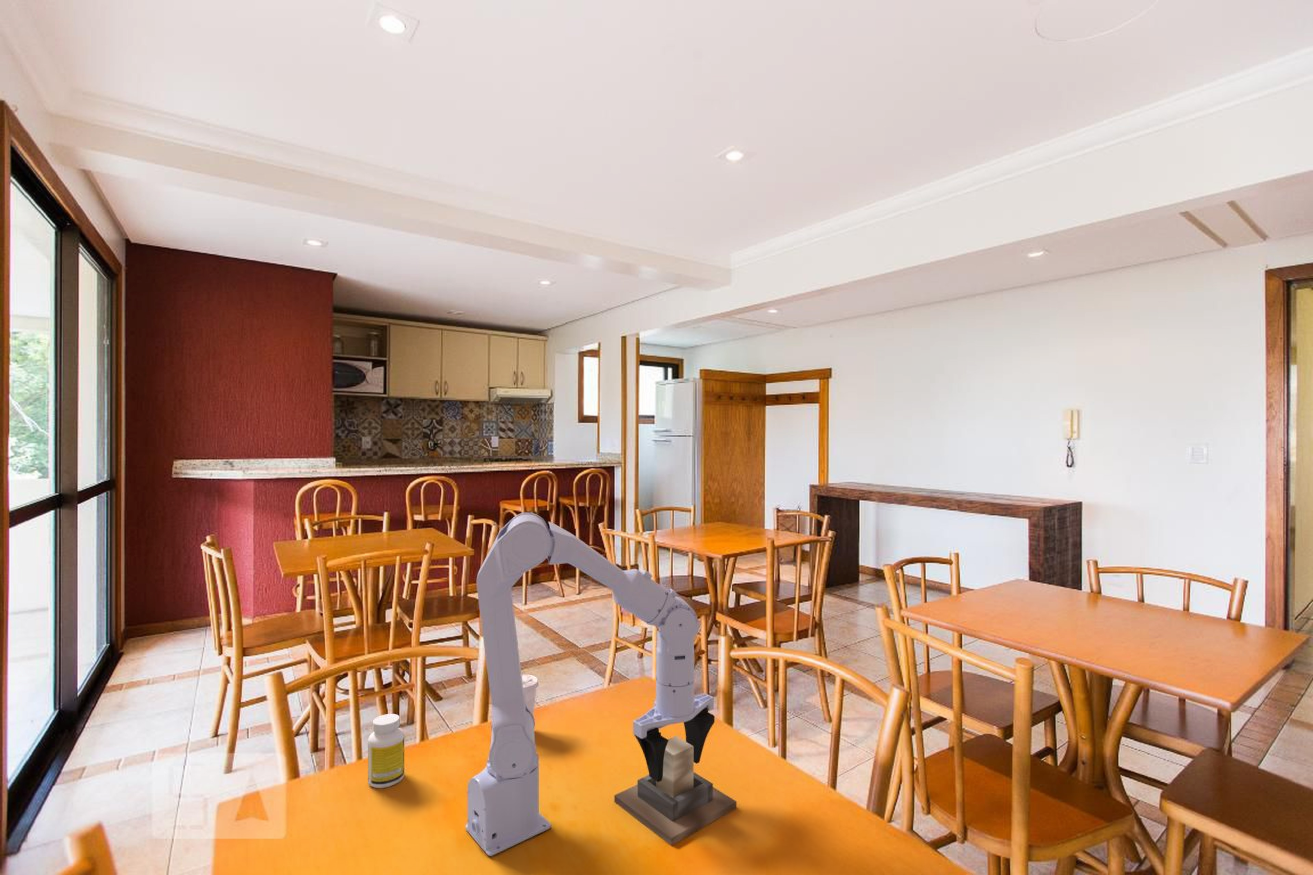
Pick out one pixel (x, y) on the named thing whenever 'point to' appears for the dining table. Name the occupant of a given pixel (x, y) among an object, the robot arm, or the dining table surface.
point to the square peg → (677, 768)
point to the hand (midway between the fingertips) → (675, 769)
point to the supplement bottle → (386, 752)
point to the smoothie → (530, 690)
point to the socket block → (675, 807)
